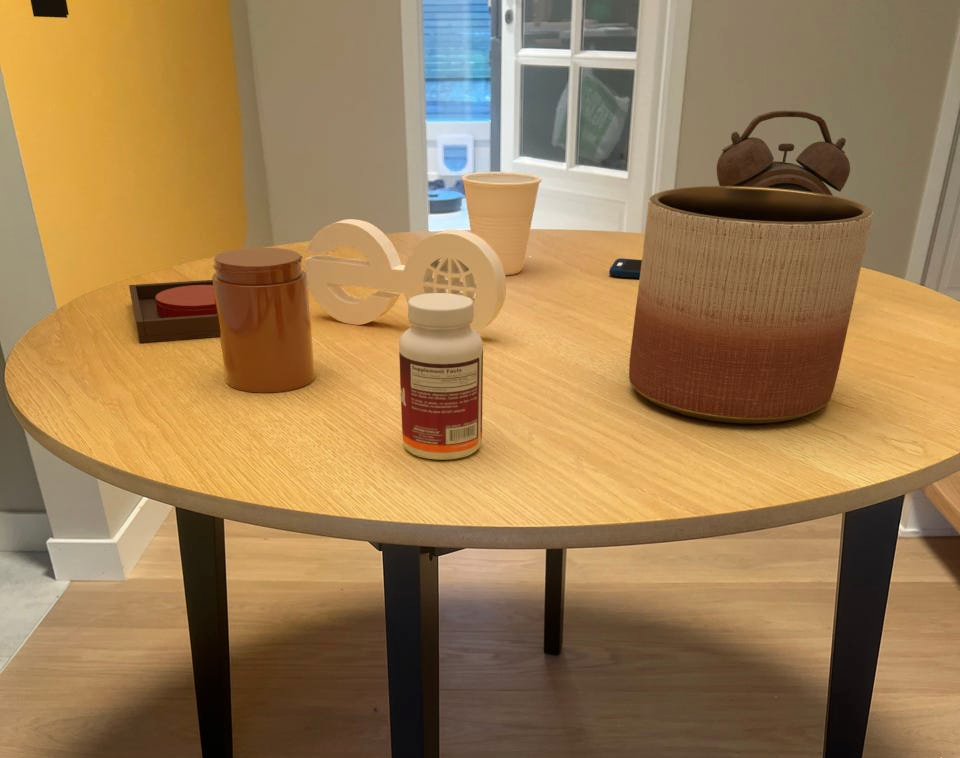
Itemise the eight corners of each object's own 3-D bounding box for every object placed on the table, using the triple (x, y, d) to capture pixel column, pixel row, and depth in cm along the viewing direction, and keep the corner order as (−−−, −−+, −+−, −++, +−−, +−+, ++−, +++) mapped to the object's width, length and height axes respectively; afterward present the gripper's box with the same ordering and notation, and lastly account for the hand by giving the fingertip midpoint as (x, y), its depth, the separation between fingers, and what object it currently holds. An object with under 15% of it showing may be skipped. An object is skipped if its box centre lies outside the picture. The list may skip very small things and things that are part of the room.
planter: (874, 409, 82) (925, 213, 73) (717, 445, 74) (754, 231, 65) (733, 353, 94) (762, 180, 85) (587, 379, 87) (603, 192, 78)
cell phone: (615, 263, 126) (616, 257, 126) (721, 271, 123) (722, 265, 123) (607, 276, 120) (608, 269, 120) (718, 284, 117) (719, 278, 117)
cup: (445, 269, 122) (444, 176, 116) (498, 258, 128) (500, 169, 122) (500, 283, 116) (502, 186, 110) (552, 271, 122) (558, 178, 116)
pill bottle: (418, 427, 76) (415, 286, 70) (491, 437, 75) (494, 293, 69) (390, 456, 71) (384, 307, 65) (467, 467, 70) (469, 315, 64)
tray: (139, 343, 94) (135, 321, 93) (132, 304, 106) (128, 284, 105) (274, 332, 98) (272, 311, 96) (252, 295, 110) (250, 277, 108)
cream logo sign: (504, 339, 97) (507, 234, 91) (496, 344, 95) (499, 239, 90) (319, 313, 104) (312, 215, 98) (309, 318, 102) (300, 218, 97)
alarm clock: (701, 317, 105) (731, 113, 94) (687, 301, 111) (714, 107, 100) (829, 319, 106) (874, 115, 94) (809, 302, 112) (848, 109, 100)
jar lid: (236, 299, 106) (234, 282, 105) (246, 319, 99) (244, 302, 98) (155, 304, 104) (152, 287, 103) (160, 326, 97) (157, 308, 96)
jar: (231, 396, 81) (214, 269, 76) (220, 368, 88) (204, 249, 82) (323, 387, 84) (313, 263, 78) (306, 361, 90) (295, 244, 84)
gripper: (40, -338, 67) (97, 20, 79) (49, -264, 86) (94, 14, 98) (-78, -355, 65) (-1, 16, 76) (-42, -274, 84) (15, 12, 96)
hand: (52, 16), depth 87 cm, fingers open, 13 cm apart
